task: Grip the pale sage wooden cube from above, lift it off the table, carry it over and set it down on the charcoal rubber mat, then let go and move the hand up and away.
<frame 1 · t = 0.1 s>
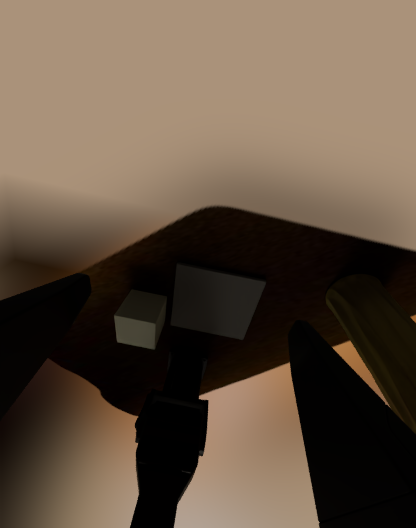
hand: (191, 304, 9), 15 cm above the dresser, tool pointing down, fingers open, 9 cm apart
vase: (351, 292, 25), on the dresser
cube: (149, 305, 30), on the dresser
mat: (213, 303, 28), on the dresser
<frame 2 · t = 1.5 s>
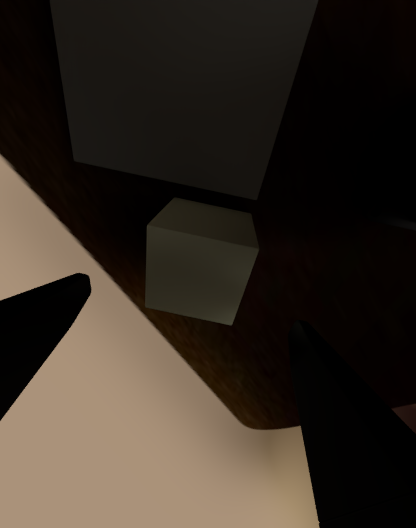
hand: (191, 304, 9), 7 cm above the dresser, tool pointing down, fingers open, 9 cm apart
cube: (206, 239, 15), on the dresser
mat: (176, 56, 10), on the dresser
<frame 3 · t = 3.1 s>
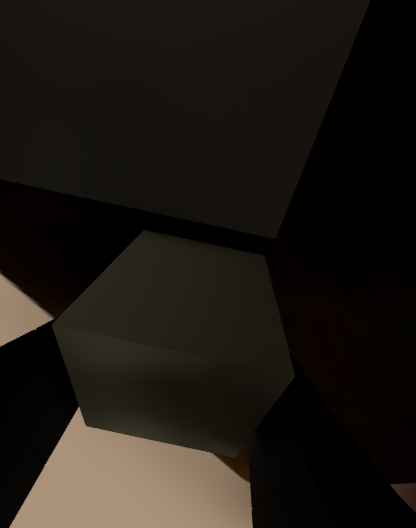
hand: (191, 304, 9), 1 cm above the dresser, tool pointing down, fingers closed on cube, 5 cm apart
cube: (195, 289, 10), on the dresser, touching gripper
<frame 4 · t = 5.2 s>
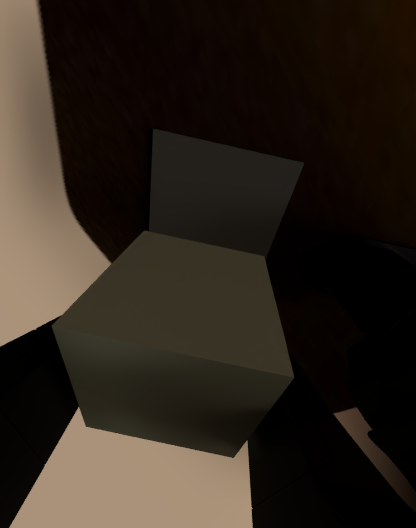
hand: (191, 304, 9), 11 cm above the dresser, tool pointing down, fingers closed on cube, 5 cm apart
cube: (195, 290, 10), point 10 cm above the dresser, touching gripper
mat: (213, 217, 18), on the dresser
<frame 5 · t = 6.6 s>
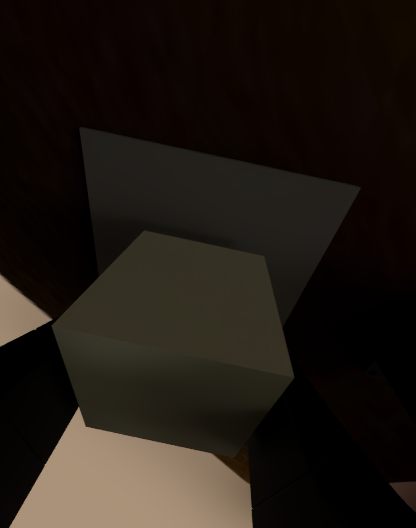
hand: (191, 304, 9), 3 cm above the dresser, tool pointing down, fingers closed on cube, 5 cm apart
cube: (195, 289, 10), point 2 cm above the dresser, touching gripper
mat: (199, 268, 11), on the dresser
when the fingers open (2 cm above the dresser, at t = 7.5 s): cube stays where it is, resting on mat.
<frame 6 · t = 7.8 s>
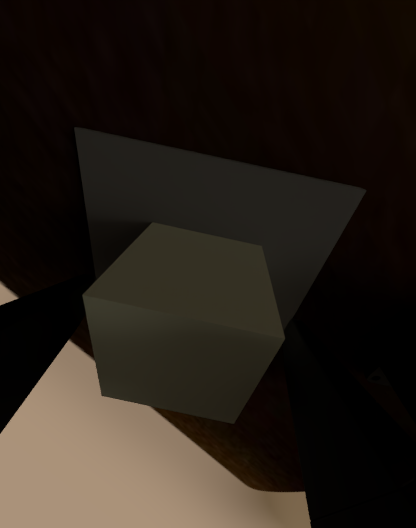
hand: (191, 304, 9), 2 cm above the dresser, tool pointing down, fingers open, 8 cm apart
cube: (198, 278, 11), resting on mat
mat: (199, 271, 11), on the dresser
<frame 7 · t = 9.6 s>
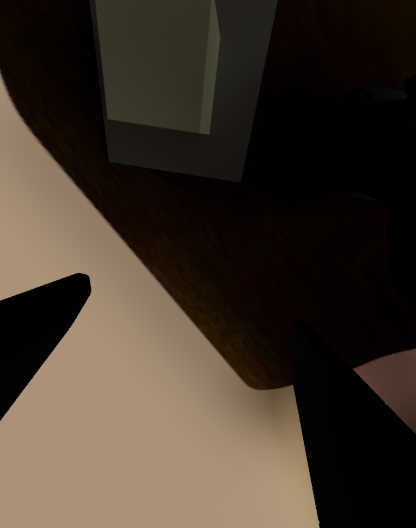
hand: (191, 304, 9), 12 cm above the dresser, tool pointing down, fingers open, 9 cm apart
cube: (177, 85, 14), resting on mat
mat: (179, 85, 14), on the dresser
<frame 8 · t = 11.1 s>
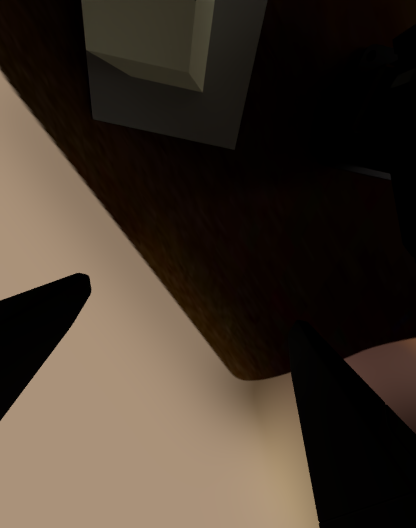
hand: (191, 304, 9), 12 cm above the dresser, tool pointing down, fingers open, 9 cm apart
cube: (169, 32, 13), resting on mat
mat: (171, 34, 13), on the dresser
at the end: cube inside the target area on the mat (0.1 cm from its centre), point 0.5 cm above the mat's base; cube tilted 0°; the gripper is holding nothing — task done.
